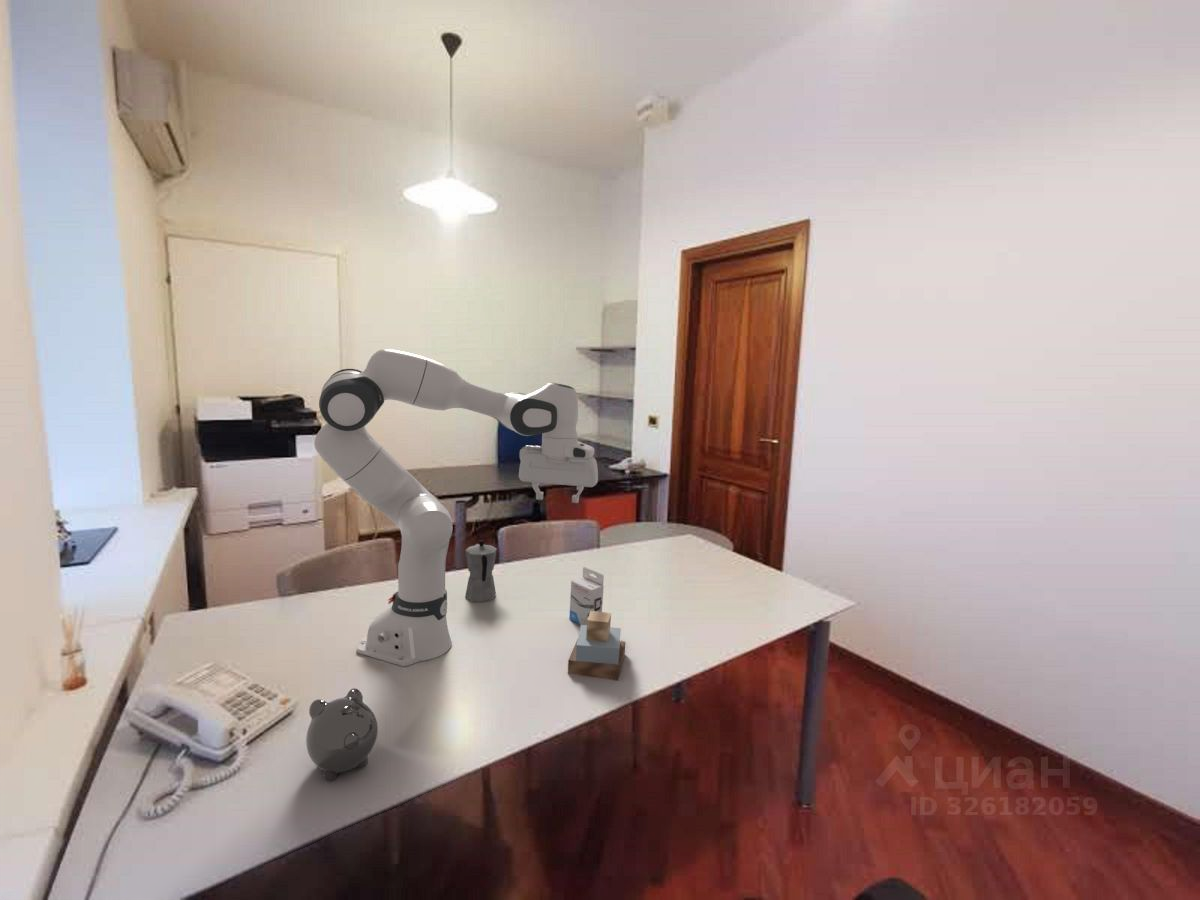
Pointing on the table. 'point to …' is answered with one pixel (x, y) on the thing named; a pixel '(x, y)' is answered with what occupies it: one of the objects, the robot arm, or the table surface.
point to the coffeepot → (480, 572)
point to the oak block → (598, 626)
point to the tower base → (596, 666)
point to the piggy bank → (341, 734)
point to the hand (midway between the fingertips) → (557, 500)
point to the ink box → (586, 596)
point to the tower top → (598, 647)
